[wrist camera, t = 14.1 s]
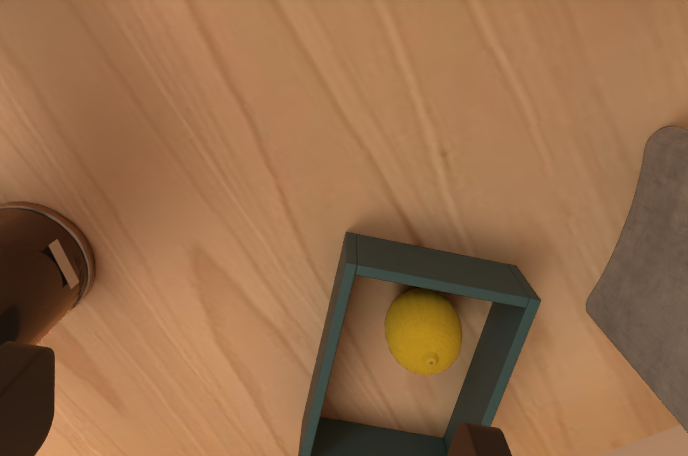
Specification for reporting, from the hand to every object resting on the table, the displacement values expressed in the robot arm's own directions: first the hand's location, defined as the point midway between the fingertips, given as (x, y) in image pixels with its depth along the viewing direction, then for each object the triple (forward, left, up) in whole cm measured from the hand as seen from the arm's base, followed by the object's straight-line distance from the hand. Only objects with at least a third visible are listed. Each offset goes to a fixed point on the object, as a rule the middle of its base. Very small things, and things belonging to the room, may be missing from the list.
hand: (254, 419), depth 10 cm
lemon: (+10, -12, -28) cm, 32 cm away
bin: (+10, -16, -28) cm, 34 cm away
